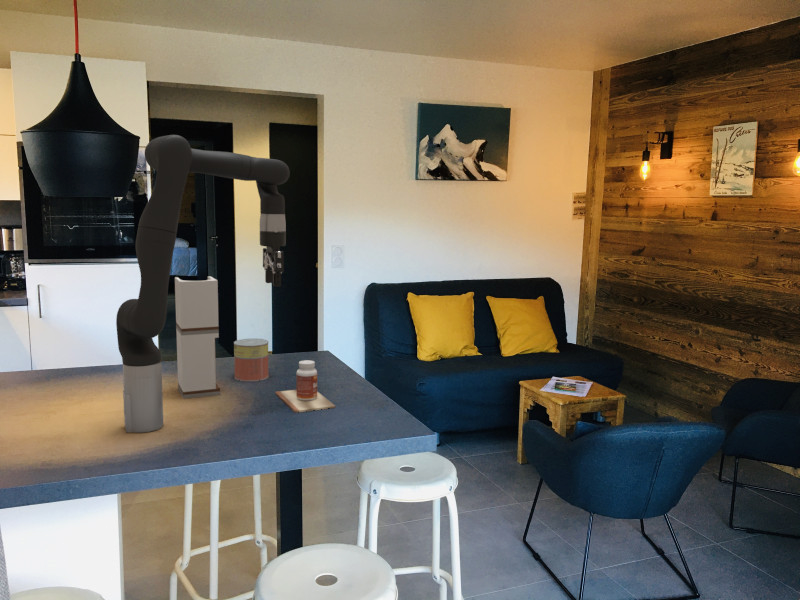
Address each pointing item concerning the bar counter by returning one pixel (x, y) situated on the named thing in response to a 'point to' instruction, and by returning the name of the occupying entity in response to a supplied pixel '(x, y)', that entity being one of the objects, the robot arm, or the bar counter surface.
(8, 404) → the bar counter surface
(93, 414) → the bar counter surface
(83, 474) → the bar counter surface
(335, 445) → the bar counter surface
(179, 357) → the white square tower
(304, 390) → the pill bottle
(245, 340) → the canned food
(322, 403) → the board
